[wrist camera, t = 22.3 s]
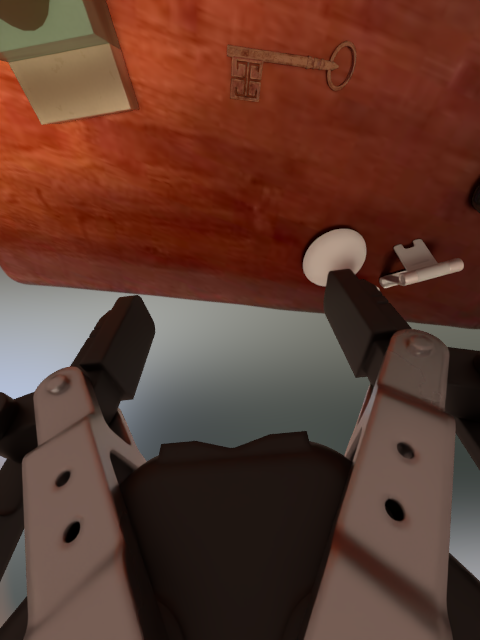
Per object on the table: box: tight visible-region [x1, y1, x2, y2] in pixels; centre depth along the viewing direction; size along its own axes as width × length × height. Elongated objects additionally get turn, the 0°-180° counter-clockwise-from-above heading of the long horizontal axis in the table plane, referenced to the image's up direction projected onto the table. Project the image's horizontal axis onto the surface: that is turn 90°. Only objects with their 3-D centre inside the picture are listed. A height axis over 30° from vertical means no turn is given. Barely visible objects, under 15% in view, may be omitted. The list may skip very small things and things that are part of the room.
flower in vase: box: [303, 229, 380, 291], centre depth 35 cm, size 13×11×25 cm
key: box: [227, 41, 356, 102], centre depth 27 cm, size 6×1×15 cm
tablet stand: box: [379, 239, 464, 288], centre depth 42 cm, size 9×8×8 cm
